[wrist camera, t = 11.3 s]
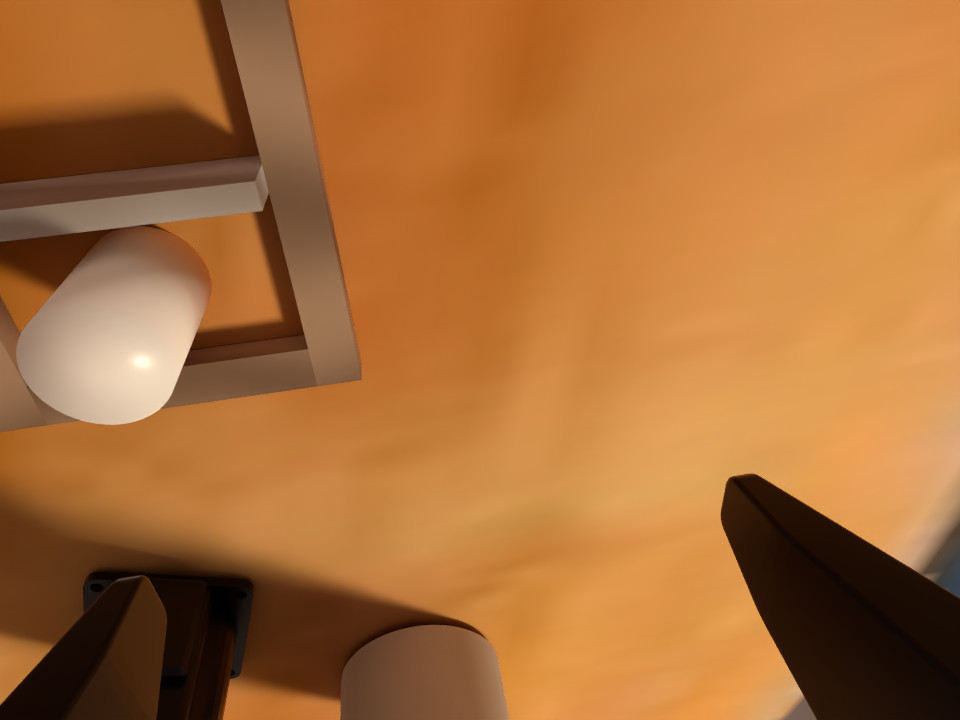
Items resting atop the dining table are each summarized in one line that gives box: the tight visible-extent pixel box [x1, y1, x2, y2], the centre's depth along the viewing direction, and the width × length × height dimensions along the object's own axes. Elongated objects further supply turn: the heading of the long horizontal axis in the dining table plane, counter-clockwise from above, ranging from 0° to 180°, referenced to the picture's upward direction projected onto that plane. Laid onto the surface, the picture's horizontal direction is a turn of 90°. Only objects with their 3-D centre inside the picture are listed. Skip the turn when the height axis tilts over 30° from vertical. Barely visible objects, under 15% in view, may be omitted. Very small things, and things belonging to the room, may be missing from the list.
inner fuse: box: [16, 226, 212, 425], centre depth 19 cm, size 4×4×5 cm
